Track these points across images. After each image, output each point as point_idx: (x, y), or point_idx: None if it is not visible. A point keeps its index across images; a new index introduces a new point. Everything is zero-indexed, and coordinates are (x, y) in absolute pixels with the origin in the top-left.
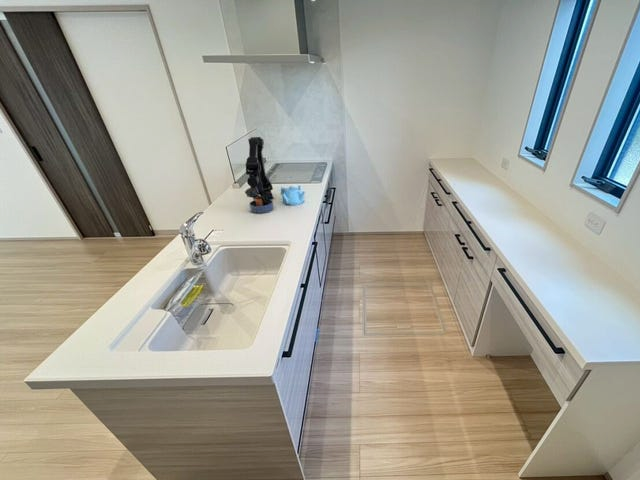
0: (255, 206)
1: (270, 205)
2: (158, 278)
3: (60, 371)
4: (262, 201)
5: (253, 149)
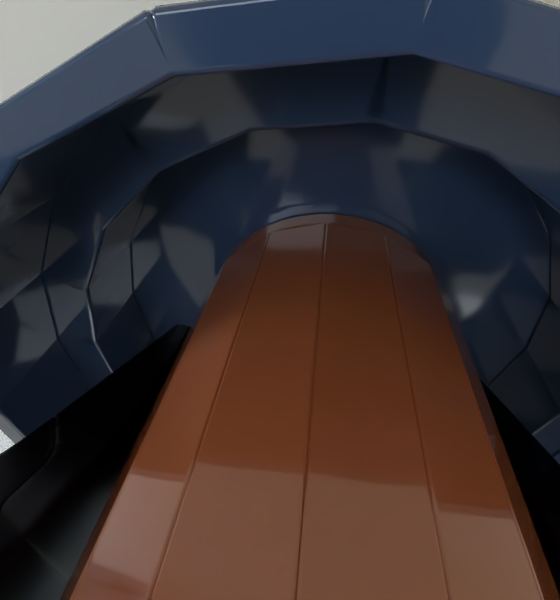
0: (123, 32)
1: (43, 399)
2: None
3: None
4: (114, 491)
5: None
